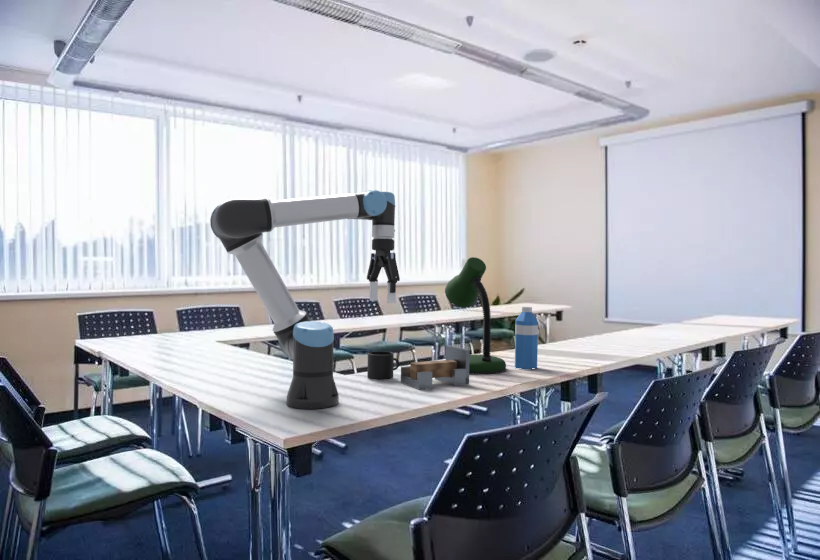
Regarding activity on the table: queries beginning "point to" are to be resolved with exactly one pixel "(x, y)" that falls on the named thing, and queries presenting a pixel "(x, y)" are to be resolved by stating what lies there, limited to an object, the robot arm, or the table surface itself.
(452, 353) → the cup bracket
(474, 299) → the desk lamp
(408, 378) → the saddle bracket
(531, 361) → the water bottle
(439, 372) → the brown wooden bar
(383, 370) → the mug
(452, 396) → the table surface
